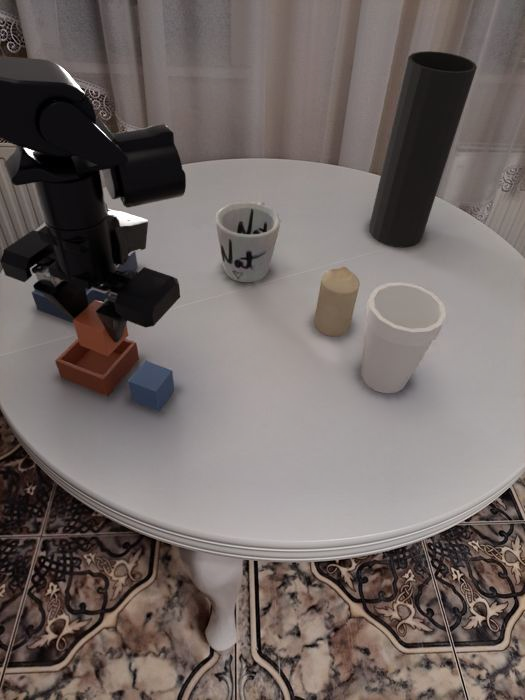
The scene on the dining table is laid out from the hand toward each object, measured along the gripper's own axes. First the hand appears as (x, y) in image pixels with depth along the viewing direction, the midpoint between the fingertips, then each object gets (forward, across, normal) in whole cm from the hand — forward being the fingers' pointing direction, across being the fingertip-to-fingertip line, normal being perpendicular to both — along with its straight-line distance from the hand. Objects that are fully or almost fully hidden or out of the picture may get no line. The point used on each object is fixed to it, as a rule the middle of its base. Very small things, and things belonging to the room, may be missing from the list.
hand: (102, 334), depth 59 cm
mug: (+11, -3, -35) cm, 37 cm away
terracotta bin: (+11, +5, -3) cm, 12 cm away
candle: (+11, -21, -26) cm, 35 cm away
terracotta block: (+1, 0, 0) cm, 1 cm away
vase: (+11, -24, -57) cm, 63 cm away
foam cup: (+11, -31, -19) cm, 38 cm away
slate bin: (+11, +17, -16) cm, 26 cm away
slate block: (+11, -4, -2) cm, 12 cm away
